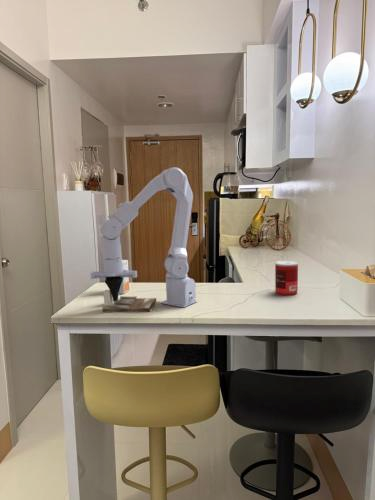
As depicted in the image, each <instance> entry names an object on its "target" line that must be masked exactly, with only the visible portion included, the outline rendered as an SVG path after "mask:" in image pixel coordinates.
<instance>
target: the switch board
mask: <svg viewBox="0 0 375 500" xmlns="http://www.w3.org/2000/svg"><path fill="white" fill-rule="evenodd" d="M119 296H120V295H119ZM113 302H114V305H113V306H103V305H102V313H150V312H151V311H152V309H153V307H154V306H155V304H156V302H157V298H155V297H153V298H152V297H149V298H148V297H147V298H146V297H143V298H138V296H130V295H129V296H127V295H126V296H124V295H123V296H120V299H119V300H117V301H114V300H113Z"/></svg>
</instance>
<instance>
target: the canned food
mask: <svg viewBox="0 0 375 500" xmlns="http://www.w3.org/2000/svg"><path fill="white" fill-rule="evenodd" d="M274 266H275V270H274V272H275V274H274V275H275V276H274V277H275V279H274V280H275V281H274V282H275V284H274V287H275V294H277V295H280V296H294V295H297V294H298V291H299V290H298V288H299V286H298V281H299V277H298V276H299V262H298V261H293V260H277V261H276V262H275V265H274Z"/></svg>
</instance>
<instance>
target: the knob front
mask: <svg viewBox="0 0 375 500" xmlns="http://www.w3.org/2000/svg"><path fill="white" fill-rule="evenodd" d="M103 301H104V302H103V304H102V307H103V306H113V305H114V302H113V297H112V294H111V291H110V289H105V290H104V291H103Z"/></svg>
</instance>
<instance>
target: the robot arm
mask: <svg viewBox="0 0 375 500" xmlns="http://www.w3.org/2000/svg"><path fill="white" fill-rule="evenodd" d="M190 185H191V184H190V183H189V180H188V175H186V173H185V172H184V171H183V170H182V169H181V168H179V167H175V166H174V167H170V168H168V169H164V170H162V172H161V173H159V174H157V176H155V177H154V178H152V179H151V180H150V181H149V182H148V183H147V184H146V185H145V186H144V187H143V189H142V190H140V192H139V193H138V194H137V195H136V196H135V197H134V198H133V199H132V200H131V201H124V202H120V203H119V204H118V208H117V209H116V210H115V211H114V212H113V213H112V214H109V215H108V216H107V218H108V219H106V220H105V221H103V222H102V224H101V226H100V233H101V235H102V256H103V257H102V259H103V270H99V271H91V272H90V280H94V279H105V280H104V283H105V285H106V286H107V287H108V288H107V289H108V290H110V291H111V294H112V297H113V300H114V301H117V300H118V295H119V296H120V294H119V290H120V286H121V283H122V281H123V278H126V277H129V278H133V279H134V278H135V279H136V278H137V277H138V271H137V270H130V269H128V270H123V266H122V260H123V256H122V255H123V254H122V243H121V237H120V235H122V234H121V233H122V230H123V229H126V228H127V227H128V226H129V224H130V223H132V221H134V219H135V218H136V217H138V216H139V209H140V208H141V207H142V206H143V205H144V204H145V203H146V202H147V201H148V200H149V199H151V197H153V196H154V195H155V194H156V193H157V192H160V191H163V190H167V191H168V192H170V193H171V194H172V195H173V196H174V198H175V199H176V205H175V213H174V218H173V219H174V220H173V228H172V236H171V244H170V248H169V250H168V253H167V256H166V258H165V260H164V263H163V265H164V267H163V268H164V269H165V270H166V271H167V272H166V274H165V289H166V291H165V292H166V293H165V294H166V300H163V301H161V302H160V303H161V304H162V305H163V304H164V305H168V306H174V307H180V308H186V307H188V306H191V305H192V304H195V303H196V302H198V300H197V298H196V297H197V295H196V281H195V279H193V278H190V277H189V276H188V272H189V269H190V265H189V264H188V252H187V243H188V238H189V237H188V236H189V230H190V222H191V215H192V208H193V207H192V206H193V202H194V201H193V199H194V194H193V191H192V188H191V186H190Z"/></svg>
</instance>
